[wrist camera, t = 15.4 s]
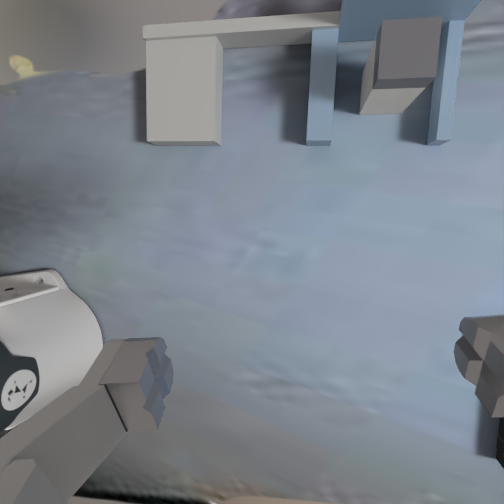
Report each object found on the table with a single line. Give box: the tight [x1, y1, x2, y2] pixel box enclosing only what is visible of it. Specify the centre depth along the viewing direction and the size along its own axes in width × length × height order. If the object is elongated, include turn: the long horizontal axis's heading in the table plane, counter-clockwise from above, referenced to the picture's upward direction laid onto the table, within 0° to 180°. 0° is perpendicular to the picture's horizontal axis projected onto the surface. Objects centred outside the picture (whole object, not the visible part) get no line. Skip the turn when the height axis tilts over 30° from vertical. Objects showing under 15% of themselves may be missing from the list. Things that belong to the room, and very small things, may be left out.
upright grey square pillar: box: [359, 16, 442, 115], centre depth 27 cm, size 4×4×9 cm
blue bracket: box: [306, 0, 481, 146], centre depth 27 cm, size 13×13×8 cm
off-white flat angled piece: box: [143, 11, 340, 146], centre depth 32 cm, size 19×11×3 cm, turn 88°
